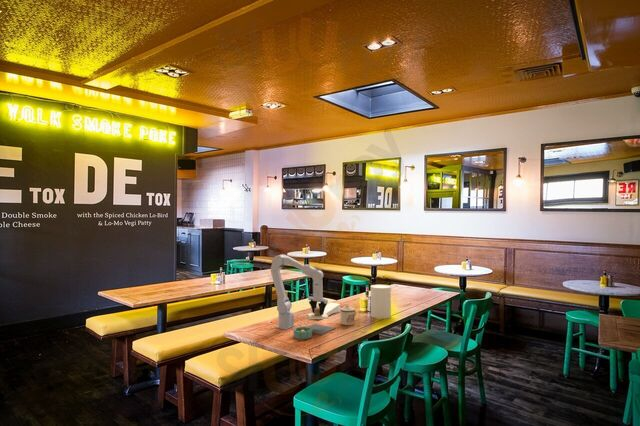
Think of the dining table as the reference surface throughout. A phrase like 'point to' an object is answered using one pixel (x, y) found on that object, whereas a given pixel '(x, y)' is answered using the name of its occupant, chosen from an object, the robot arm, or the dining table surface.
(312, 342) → the dining table surface
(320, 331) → the mat
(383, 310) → the canister
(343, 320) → the teacup with lid
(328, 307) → the white wedge ramp
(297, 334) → the bowl
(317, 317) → the cover
